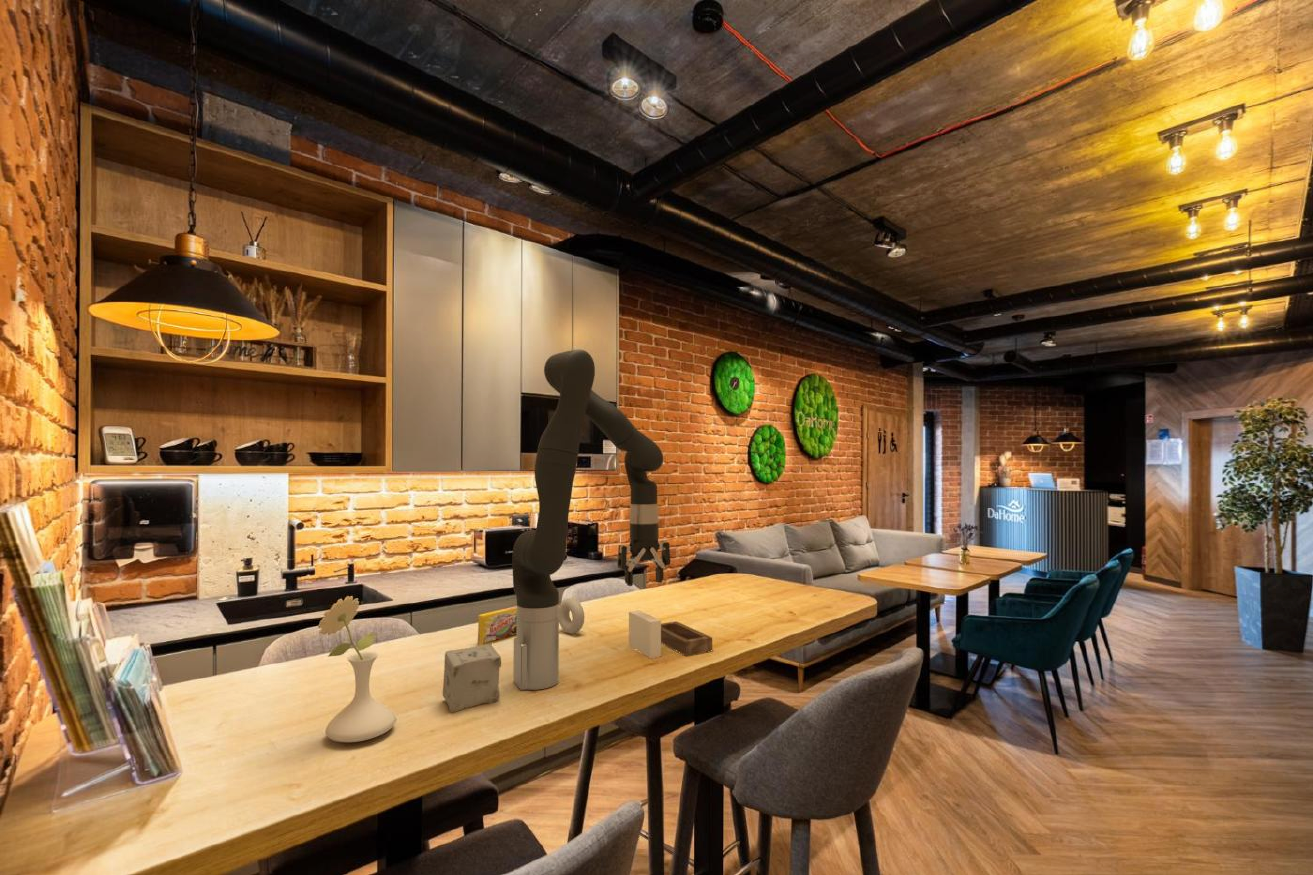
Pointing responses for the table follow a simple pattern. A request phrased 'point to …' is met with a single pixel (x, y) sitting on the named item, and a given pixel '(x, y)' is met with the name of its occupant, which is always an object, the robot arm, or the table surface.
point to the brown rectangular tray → (684, 638)
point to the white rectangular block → (645, 633)
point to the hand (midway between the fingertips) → (644, 583)
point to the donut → (577, 615)
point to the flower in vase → (363, 712)
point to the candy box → (497, 626)
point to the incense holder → (471, 677)
